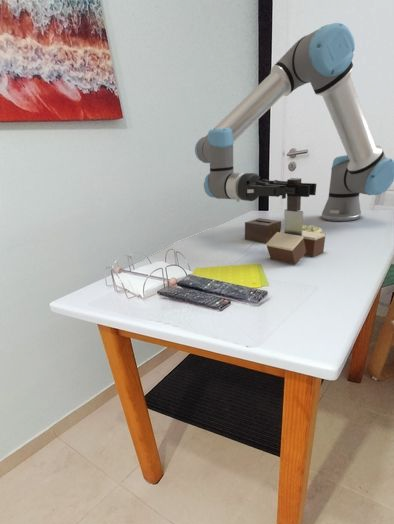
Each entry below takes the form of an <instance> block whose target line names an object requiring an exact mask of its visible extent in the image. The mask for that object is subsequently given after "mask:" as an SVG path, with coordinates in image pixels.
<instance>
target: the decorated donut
mask: <svg viewBox="0 0 394 524" xmlns="http://www.w3.org/2000/svg"><path fill="white" fill-rule="evenodd" d="M303 231H309V232H316V233H322V232H323V229H322V228H321V227H319V226H316V225H312V224H303Z"/></svg>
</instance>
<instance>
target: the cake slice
mask: <svg viewBox="0 0 394 524" xmlns="http://www.w3.org/2000/svg"><path fill="white" fill-rule="evenodd" d="M265 245H266V248H267V253H268V255H269V259H270V260H273V261H277V262H281V263H286V264H290V265H295V266H296V265H297V264H298V262H300V260H301V259H302V258H303V257H305V255H304V254H305V253H306V248H305V243H304V238H303V236H299V235H293V234H286V233H284V232H281V233H280V232H277V233H276V234H275V235H274V236H273V237H272V238H271V239H270V240H269V241H268V242H267V243H265Z"/></svg>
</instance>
